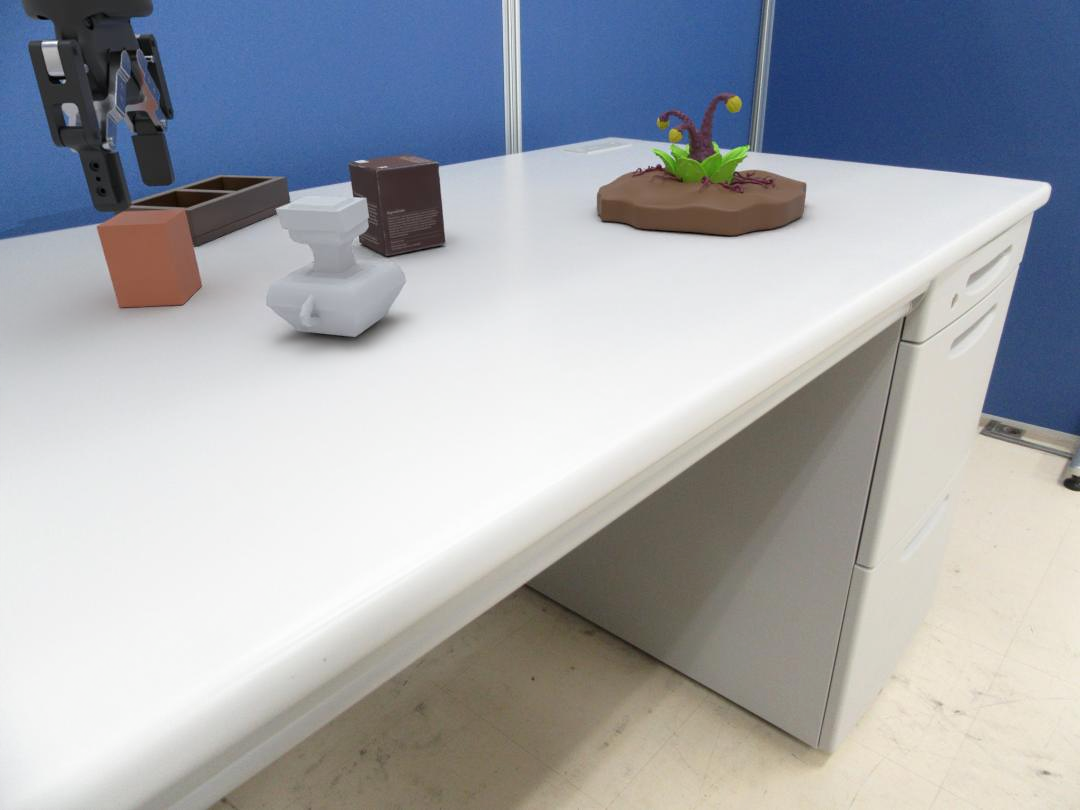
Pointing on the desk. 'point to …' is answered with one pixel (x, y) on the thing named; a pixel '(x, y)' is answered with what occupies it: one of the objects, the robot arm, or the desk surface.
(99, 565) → the desk surface
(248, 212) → the tray
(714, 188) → the plant
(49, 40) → the robot arm
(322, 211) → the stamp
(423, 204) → the box
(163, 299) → the block
